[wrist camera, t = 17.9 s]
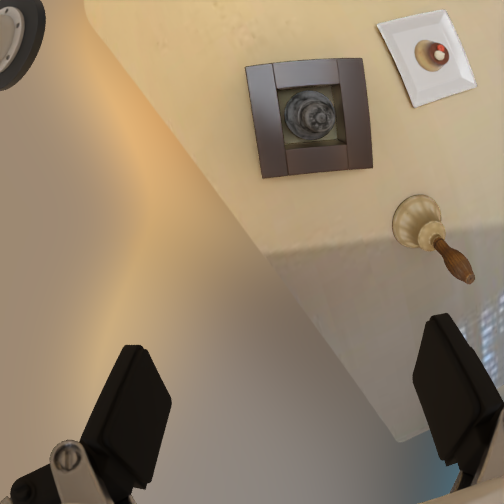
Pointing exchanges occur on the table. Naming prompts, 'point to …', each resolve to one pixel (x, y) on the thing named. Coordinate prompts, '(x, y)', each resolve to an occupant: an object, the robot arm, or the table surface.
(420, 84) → the dessert
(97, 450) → the robot arm
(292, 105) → the chess piece
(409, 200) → the hand bell
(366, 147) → the holder
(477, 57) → the table surface
